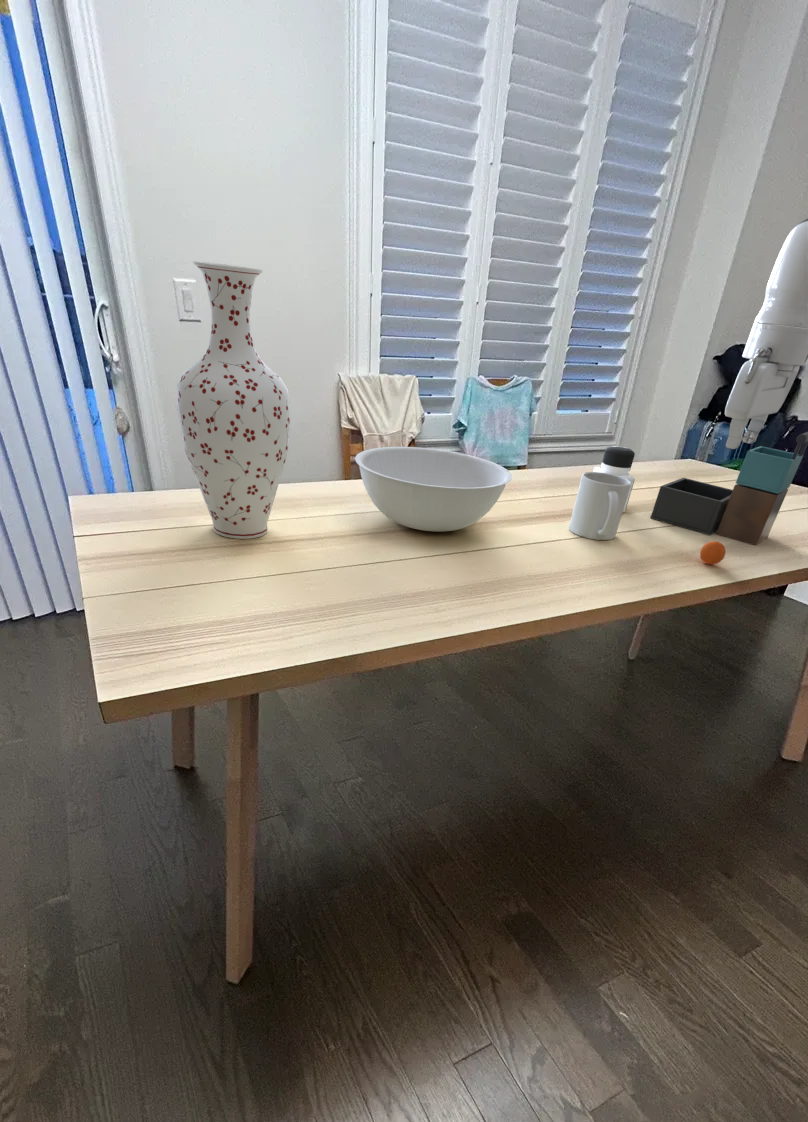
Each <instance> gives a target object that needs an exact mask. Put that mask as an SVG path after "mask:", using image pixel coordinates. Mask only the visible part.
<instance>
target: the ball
mask: <svg viewBox="0 0 808 1122" xmlns="http://www.w3.org/2000/svg"><path fill="white" fill-rule="evenodd" d="M699 555H700V556H699V557H700V559H701V561H702V562H703V563H705V564H707V565H712V566H713V565H717V564H719V563H721V562H722V561H723V559H724V558H725V556H726V547H725V545H724V544H723V543H722V542H720V541H717V540H711V541H707V543H705V544H704V545H703V546H702V547H701V549H700V551H699Z"/></svg>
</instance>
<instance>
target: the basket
mask: <svg viewBox="0 0 808 1122" xmlns="http://www.w3.org/2000/svg"><path fill="white" fill-rule="evenodd" d="M732 491H733V489H731V488H727V487H723V486H719V485H715V484H710V483H707V482H703V481H699V480H694V479H691V478H686V477H681V478H679V479H675V480H673V481H670V482H668V483H665V484H662V485H660V487H659V489H658V493H657V496H656V499H655V501H654V504H653V509H652V512H651V515H650V519H653V520H656V521H659V522H662V523H666V524H670V525H673V526H677V527H680V528H684V529H687V530H690V531H694V532H696V533H697V532H698V533H700V534H704V535H708V536H711V535H713V534H714V533H716V532H717V530H718V527H719V525H720V522H721V519H722V517H723V514H724V512H725V509H726V506H727V504H728V501H729V499H730V496H731V494H732Z"/></svg>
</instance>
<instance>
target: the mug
mask: <svg viewBox="0 0 808 1122" xmlns="http://www.w3.org/2000/svg"><path fill="white" fill-rule="evenodd" d="M630 486H631V482H630V481H629V480H628V479H626V478H623V477H620V476H617V475H613V474H608V473H601V472H593V471H588V472H583V473H582V475H581V477H580V481H579V485H578V490H577V494H576V497H575V501H574V505H573V510H572V514H571V517H570V522H569V525H568V529H569V531H570V532H571V533H573V534H575V535H576V536H580V537H581V538H586V539H589V540H595V541H596V540H597V541H609V540H614V539H615V538H616V536H617V532H618V530H619V526H620V523H621V519H622V516H623V509H624V506H625V503H626V499H627V496H628V493H629V489H630Z"/></svg>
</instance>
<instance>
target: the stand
mask: <svg viewBox="0 0 808 1122" xmlns="http://www.w3.org/2000/svg"><path fill="white" fill-rule="evenodd" d="M732 490H733V491H732V494H731V496H730V499H729V501H728V504H727V506H726V509H725V512H724V514H723V517H722V519H721V522H720V525H719V527H718V530H717V531H716V532H715V535H718V536H722V537H726V538H729V539H733V540H736V541H740V542H742V543H747V544H749V545H754V546H758V544H761V542H763V541H764V540H765V539H767V538H768V537H769V535H770V533H771V531H772V528H773V526H774V524H775V522H776V520H777V517H778V514H779V512H780V510H781V509H782V505H783V503H784V500H785V499H786V496H787V495H788V491H789V488H787V489H785V490H784V491H782V492H780V493H779V494H777V493H773V492H769V491H765V490H761V489H757V488H753V487H749V486H745V485H740V484H736V483H735V484H734V486H733V488H732Z"/></svg>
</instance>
